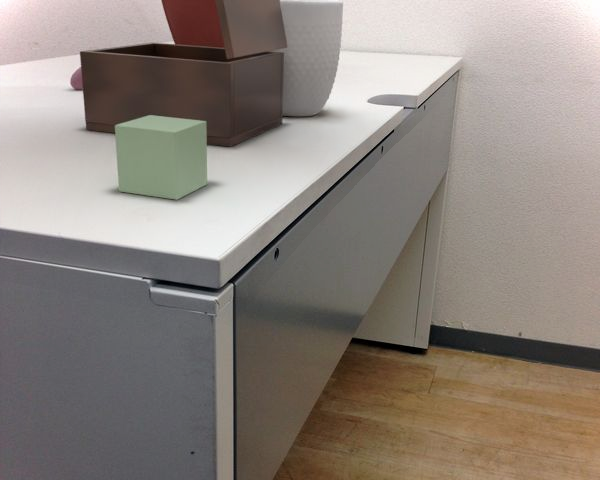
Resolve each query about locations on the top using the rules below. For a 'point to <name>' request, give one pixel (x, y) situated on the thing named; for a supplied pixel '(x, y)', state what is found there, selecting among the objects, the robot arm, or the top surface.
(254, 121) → the chest
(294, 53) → the mug
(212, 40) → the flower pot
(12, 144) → the top surface
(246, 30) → the lid
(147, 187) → the block
